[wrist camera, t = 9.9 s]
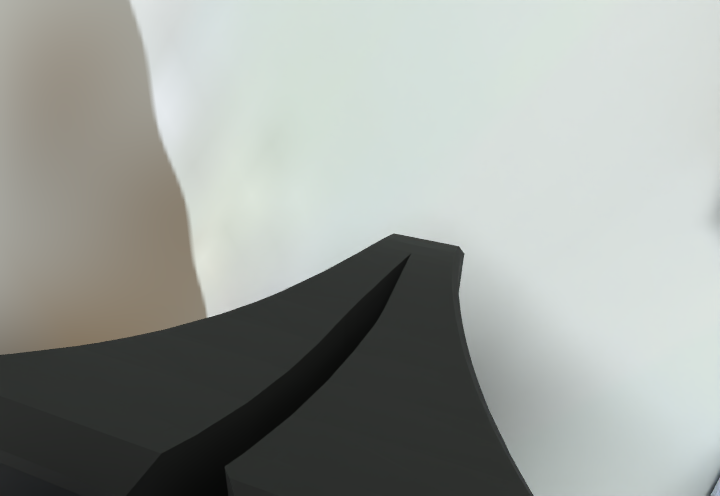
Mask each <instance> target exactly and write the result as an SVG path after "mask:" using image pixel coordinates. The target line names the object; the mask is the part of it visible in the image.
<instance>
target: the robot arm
mask: <svg viewBox="0 0 720 496" xmlns="http://www.w3.org/2000/svg"><path fill="white" fill-rule="evenodd" d="M463 258H464V253H463V251H462V250H461V249H460V247H459V246H454V245H449V244H444V243H439V242H434V241H429V240H424V239H419V238H414V237H409V236H404V235H399V234H392V235H390V236H388V237H386V238H384V239H382V240H380V241H378V242H377V243H375V244H373V245H371V246H369V247H368V248H366V249H364V250H362V251H361V252H359V253H357V254H355V255H353V256H352V257H350V258H348V259H346V260H344V261H342V262H341V263H339V264H337V265H335V266H333V267H331V268H329V269H328V270H326V271H324V272H322V273H320V274H318V275H315V276H313V277H311V278H309V279H307V280H305V281H303V282H301V283H299V284H296V285H294V286H292V287H290V288H288V289H286V290H284V291H282V292H279V293H277V294H274V295H272V296H270V297H267V298H265V299H262V300H260V301H257V302H254V303H251V304H249V305H246V306H243V307H240V308H237V309H235V310H232V311H229V312H226V313H223V314H220V315H216V316H212V317H209V318H205V319H201V320H198V321H194V322H191V323H187V324H183V325H180V326H176V327H173V328H169V329H165V330H161V331H156V332H151V333H147V334H142V335H137V336H133V337H128V338H122V339H117V340H112V341H105V342H100V343H94V344H87V345H81V346H75V347H66V348H58V349H49V350H41V351H33V352H24V353H16V354H7V355H0V496H533V494H532V492H531V491H530V489H529V487H528V485H527V484H526V482H525V480H524V478H523V477H522V475H521V473H520V471H519V469H518V468H517V466H516V464H515V462H514V461H513V459H512V457H511V455H510V453H509V451H508V449H507V447H506V445H505V443H504V440H503V438H502V436H501V434H500V432H499V430H498V428H497V426H496V424H495V422H494V420H493V417H492V415H491V413H490V411H489V409H488V406H487V404H486V401H485V399H484V396H483V394H482V391H481V388H480V386H479V383H478V380H477V377H476V374H475V371H474V368H473V365H472V362H471V358H470V355H469V351H468V347H467V343H466V338H465V334H464V329H463V324H462V318H461V312H460V303H459V294H458V293H459V286H460V279H461V272H462V265H463ZM710 496H720V478H719V480H718V482H717V484H716V486H715V488H714V490H713V492H712V493H711V495H710Z"/></svg>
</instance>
